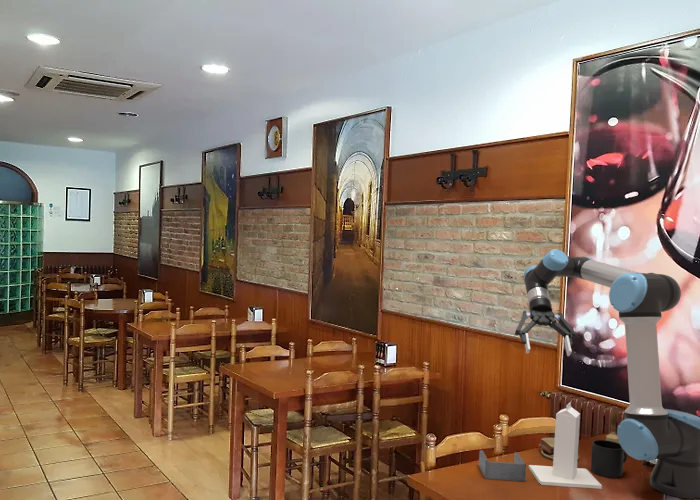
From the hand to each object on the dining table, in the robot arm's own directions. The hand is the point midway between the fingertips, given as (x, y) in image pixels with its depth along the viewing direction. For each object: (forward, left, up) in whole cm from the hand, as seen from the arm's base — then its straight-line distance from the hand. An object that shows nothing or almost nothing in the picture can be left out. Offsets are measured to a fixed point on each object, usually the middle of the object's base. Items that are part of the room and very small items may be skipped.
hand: (548, 352), depth 211 cm
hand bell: (-28, -13, -36) cm, 47 cm away
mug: (-19, +9, -36) cm, 42 cm away
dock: (+17, +16, -36) cm, 42 cm away
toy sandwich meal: (-6, -5, -36) cm, 37 cm away
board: (-2, +17, -36) cm, 39 cm away
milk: (-2, +17, -35) cm, 39 cm away
